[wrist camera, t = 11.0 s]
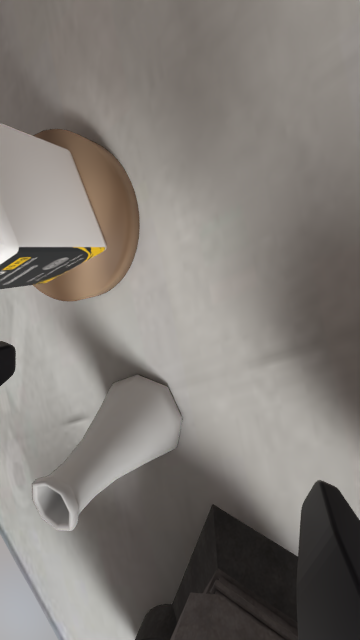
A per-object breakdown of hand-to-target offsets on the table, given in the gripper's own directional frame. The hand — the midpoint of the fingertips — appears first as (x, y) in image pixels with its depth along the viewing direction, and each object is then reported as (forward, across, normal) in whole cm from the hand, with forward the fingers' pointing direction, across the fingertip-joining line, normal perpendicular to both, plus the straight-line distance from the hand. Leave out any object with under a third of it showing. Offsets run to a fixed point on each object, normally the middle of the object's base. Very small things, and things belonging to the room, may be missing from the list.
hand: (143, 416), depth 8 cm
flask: (+13, +4, +12) cm, 18 cm away
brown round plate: (+14, +14, -2) cm, 20 cm away
